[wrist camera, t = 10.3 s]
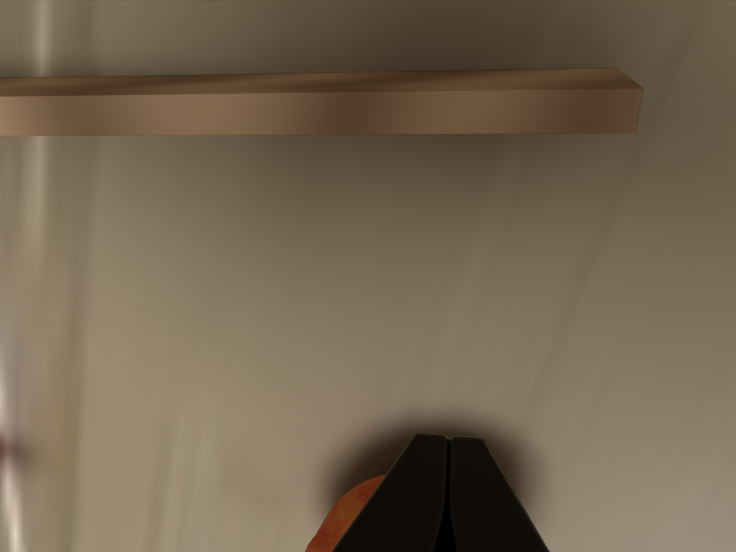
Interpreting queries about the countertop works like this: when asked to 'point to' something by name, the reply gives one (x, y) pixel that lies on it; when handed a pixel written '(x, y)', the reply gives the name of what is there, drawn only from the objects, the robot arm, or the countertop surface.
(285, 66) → the countertop surface
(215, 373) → the countertop surface
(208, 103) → the brown wooden frame
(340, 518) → the fruit
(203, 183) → the countertop surface
